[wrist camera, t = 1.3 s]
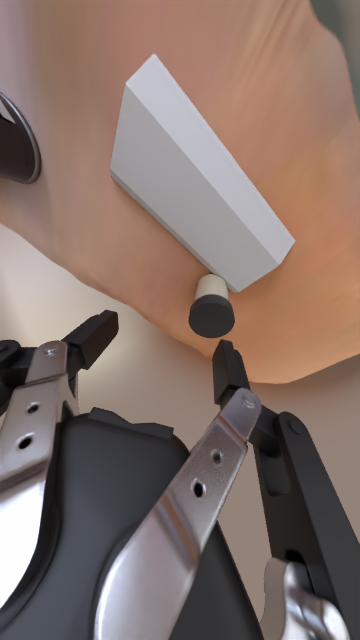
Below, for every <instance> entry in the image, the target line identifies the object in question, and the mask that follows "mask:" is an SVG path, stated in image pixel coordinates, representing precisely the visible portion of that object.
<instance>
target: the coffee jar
mask: <svg viewBox="0 0 360 640" xmlns="http://www.w3.org/2000/svg"><path fill="white" fill-rule="evenodd" d="M208 294H216V295H220V296H222V297H224V298H226V299H227V300H228V301H229V302H230V299H229V294H228V288H227V284H226V282H225V280H224V279H223V278H221V277H220V276H218V275H216V274H208V275H205V276H203V277H202V278H201V279H200V280H199V281H198V283H197V286H196V291H195V296H194V301H195V300H197V299H198V298H199V297H201V296H204V295H208ZM194 301H193V303H194Z"/></svg>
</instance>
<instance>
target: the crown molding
mask: <svg viewBox="0 0 360 640" xmlns="http://www.w3.org/2000/svg"><path fill="white" fill-rule="evenodd" d="M110 172H111V177H112V179H114V180H115V181H116V182H117V183H118V184H119V185H120V186H121V187H122V188H123V189H124V190H125V191H126V192H127V193H128V194H129V195H130V196H132V197H133V198H134V199H135V200H136V201H137V202H138V203H139V204H140V205H141V206H142V207H143V208H144V209H145V210H146V211H147V212H148V213H150V214H151V215H152V216H153V217H154V218H155V219H156V220H157V221H158V222H159V223H160V224H161V225H162V226H163V227H164V228H165V229H166V230H168V231H169V232H170V233H171V234H172V235H173V236H174V237H175V238H176V239H177V240H178V241H179V242H180V243H181V244H182V245H183V246H184V247H186V248H187V249H188V250H189V251H190V252H191V253H192V254H193V255H194V256H195V257H196V258H197V259H198V260H199V261H200V262H201V263H202V264H204V265H205V266H206V267H207V268H208V269H209V270H210V271H211V272H212V273H213V274H216V275H218V276H220V277H221V278H223V279H224V280H225V282H226V284H227V287H228V288H229V289H230V290H231V291H232V292H233V293H237V292H240V291H241V290H243V289H244V288H246V287H247V286H249V285H250V284H252V283H253V282H255V281H256V280H258V279H259V278H261V277H262V276H264V275H266V274H267V273H269V272H270V271H272V270H273V269H275V268H276V267H278V266H279V265H280V264H281V262H282V261H283V259H284V258H285V256H286V255H287V253H288V252H289V250H290V248H291V247H292V245H293V244H294V242H295V240H294V238H293V237H292V236H291V234H290V233H289V232H288V230H287V229H286V228H285V226H284V225H283V224H282V222H281V221H280V220H279V218H278V217H277V216H276V214H275V213H274V212H273V210H272V209H271V208H270V206H269V205H268V204H267V202H266V201H265V200H264V198H263V197H262V196H261V194H260V193H259V192H258V190H257V189H256V188H255V186H254V185H253V184H252V182H251V181H250V180H249V178H248V177H247V176H246V174H245V173H244V172H243V170H242V169H241V168H240V166H239V165H238V164H237V162H236V161H235V160H234V158H233V157H232V156H231V154H230V153H229V152H228V150H227V149H226V148H225V146H224V145H223V144H222V142H221V141H220V140H219V138H218V137H217V136H216V134H215V133H214V132H213V130H212V129H211V128H210V126H209V125H208V124H207V122H206V121H205V120H204V118H203V117H202V116H201V114H200V113H199V112H198V110H197V109H196V108H195V106H194V105H193V104H192V102H191V101H190V100H189V98H188V97H187V96H186V94H185V93H184V92H183V90H182V89H181V88H180V86H179V85H178V84H177V82H176V81H175V80H174V78H173V77H172V76H171V74H170V73H169V72H168V70H167V69H166V68H165V66H164V65H163V64H162V62H161V61H160V60H159V58H158V57H157V56H156V54H155V53H154V54H153V55H152V56H151V57H150V58H149V59H148V60H147V61H146V62H145V63H144V64H143V65H142V66H141V67H140V68H139V69H138V71H137V72H136V73H135V74H134V75H133V76H132V77H131V78H130V79H129V80H128V81H127V82H126V83H125V88H124V93H123V99H122V104H121V110H120V115H119V121H118V126H117V131H116V137H115V142H114V148H113V153H112V159H111V164H110Z"/></svg>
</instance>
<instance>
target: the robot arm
mask: <svg viewBox="0 0 360 640" xmlns="http://www.w3.org/2000/svg"><path fill="white" fill-rule="evenodd" d="M39 171H40V156H39V151H38V147H37V143H36V141H35V138H34V135H33V133H32V131H31V129H30V127H29V125H28V123H27V122H26V120H25V118H24V117H23V115H22V114H21V113H20V111H19V110H18V109H17V107H16V106H15V105H14V104H13V103H12V102H11V101H10V100H9V99H8V98H7V97H6V96H4V95H3V94H2V93H0V177H1V178H5V179H10V180H13V181H16V182H19V183H25V184H28V183H32V182H33V181H35V180H36V178H37V177H38V175H39ZM118 329H119V325H118V314H117V312H114V311H110V310H105V311H103V312H102V313H101V314H100V315H98V314H97V315H95V316H92V317H90V318H89V319H87V320H86V321H85V322H84V323H82V324H81V325H80V326H79V327H77V328H76V329H75V330H73V331H72V332H71V333H70V334H68V335H67V336H66V337H65V338H63V339H62V340H61V341H59V340H58V341H51V342H47V343H44V344H42V345H41V346H39V347H21V346H20V344H19V343H18V342H17V341H15V340H2V341H0V416H1V415H3V413H4V412H6V411H7V412H6V415H5V418H4V420H3V424H2V426H1V429H0V640H360V544H359V542H358V540H357V538H356V536H355V533H354V531H353V529H352V527H351V524H350V522H349V520H348V518H347V516H346V514H345V511H344V509H343V507H342V504H341V502H340V500H339V498H338V496H337V494H336V491H335V489H334V487H333V485H332V482H331V480H330V478H329V476H328V474H327V471H326V469H325V467H324V465H323V463H322V461H321V458H320V456H319V454H318V452H317V450H316V447H315V445H314V443H313V441H312V438H311V436H310V434H309V432H308V430H307V428H306V427H305V425H304V424H303V423H302V422H301V421H300V420H299V419H298V418H297V417H296V416H294V415H293V414H291V413H289V412H281V413H280V414H277V413H275V412H273V411H272V410H270V409H268V408H266V407H265V406H263V405H262V404H261V402H260V400H259V398H258V397H257V396H256V395H255V394H254V393H253V392H252V391H251V390H250V386H249V382H248V378H247V375H246V371H245V367H244V364H243V360H242V356H241V355H240V353H239V352H238V351H237V350H234V348H233V344H232V342H231V341H227V340H223V339H221V340H220V342H219V344H218V346H217V348H216V350H215V352H214V354H213V360H212V361H213V382H214V402H215V404H217V405H220V409H221V411H220V412H219V413H218V415H217V416H216V418H215V419H214V420H213V421H212V423H211V424H210V425H209V427H208V428H207V429H206V431H205V432H204V433H203V435H202V436H201V437H200V439H199V440H198V441H197V442H196V444H195V445H194V446H193V448H192V449H191V451H190V452H189V450H188V449H187V447H186V446H185V444H184V443H183V442H182V441H181V440H180V439H179V438H178V437H177V436H175V435H174V434H173V430H174V428H172V427H168V426H165V425H160V424H157V423H138V424H132V423H129V422H128V421H126V420H125V419H123V418H122V417H120V416H119V415H117V414H116V413H114V412H112V411H108V410H104V409H100V408H96V407H93V409H92V410H91V412H90V413H84V414H80V413H79V407H78V371H79V370H80V369H81V368H82V369H85V370H88V369H89V368H90V367H91V366H92V364H93V363H94V362H95V361H96V360H97V358H98V357H99V356H100V355H101V354H102V352H103V351H104V350H105V349H106V347H107V346H108V345H109V344H110V343H111V341H112V340H113V339H114V337H115V336H116V335H117V333H118ZM247 441H248V442H250V443H251V444H253V448H254V454H255V460H256V466H257V472H258V478H259V484H260V489H261V495H262V501H263V507H264V513H265V519H266V525H267V531H268V536H269V543H270V548H271V554H272V558H271V559H270V560H269V561H268V562H267V565H266V568H265V574H264V591H265V608H264V613H263V617H262V619H261V621H260V623H259V622H258V619H257V617H256V614H255V611H254V609H253V606H252V604H251V601H250V599H249V597H248V594H247V592H246V589H245V587H244V584H243V582H242V580H241V577H240V574H239V572H238V570H237V567H236V564H235V562H234V559H233V557H232V555H231V552H230V550H229V547H228V545H227V542H226V540H225V537H224V535H223V532H222V530H221V527H220V525H219V522H218V520H217V518H218V516H219V514H220V512H221V509H222V507H223V505H224V503H225V500H226V498H227V496H228V494H229V491H230V489H231V487H232V485H233V483H234V480H235V478H236V476H237V474H238V471H239V469H240V467H241V465H242V462H243V460H244V458H245V456H246V453H247V450H248V446H247Z"/></svg>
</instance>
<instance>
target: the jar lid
mask: <svg viewBox="0 0 360 640" xmlns="http://www.w3.org/2000/svg"><path fill="white" fill-rule="evenodd" d="M234 322H235V318H234V313H233V308H232V305H231V303H230V302H229V301H228V300H227V299H226V298H224V297H222V296H220V295H216V294H208V295H204V296H201V297H199V298H198V299H197V300H195V301H194V303H193V304H192V306H191V308H190V314H189V325H190V327H191V329H192V330H193V331H194V332H195V333H196V334H198V335H200V336H202V337H206V338H217V337H221V336H224V335H226V334H227V333H228V332H230V331H231V329H232V328H233V326H234Z"/></svg>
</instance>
